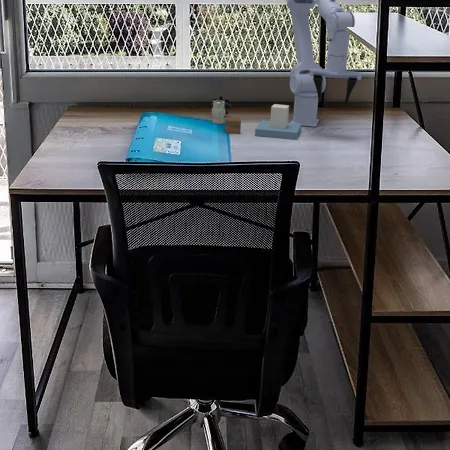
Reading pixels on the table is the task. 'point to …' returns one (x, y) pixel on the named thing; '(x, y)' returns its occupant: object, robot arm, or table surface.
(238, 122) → the walnut block
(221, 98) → the valve
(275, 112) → the white block
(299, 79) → the robot arm
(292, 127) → the base board
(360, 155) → the table surface
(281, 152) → the table surface
